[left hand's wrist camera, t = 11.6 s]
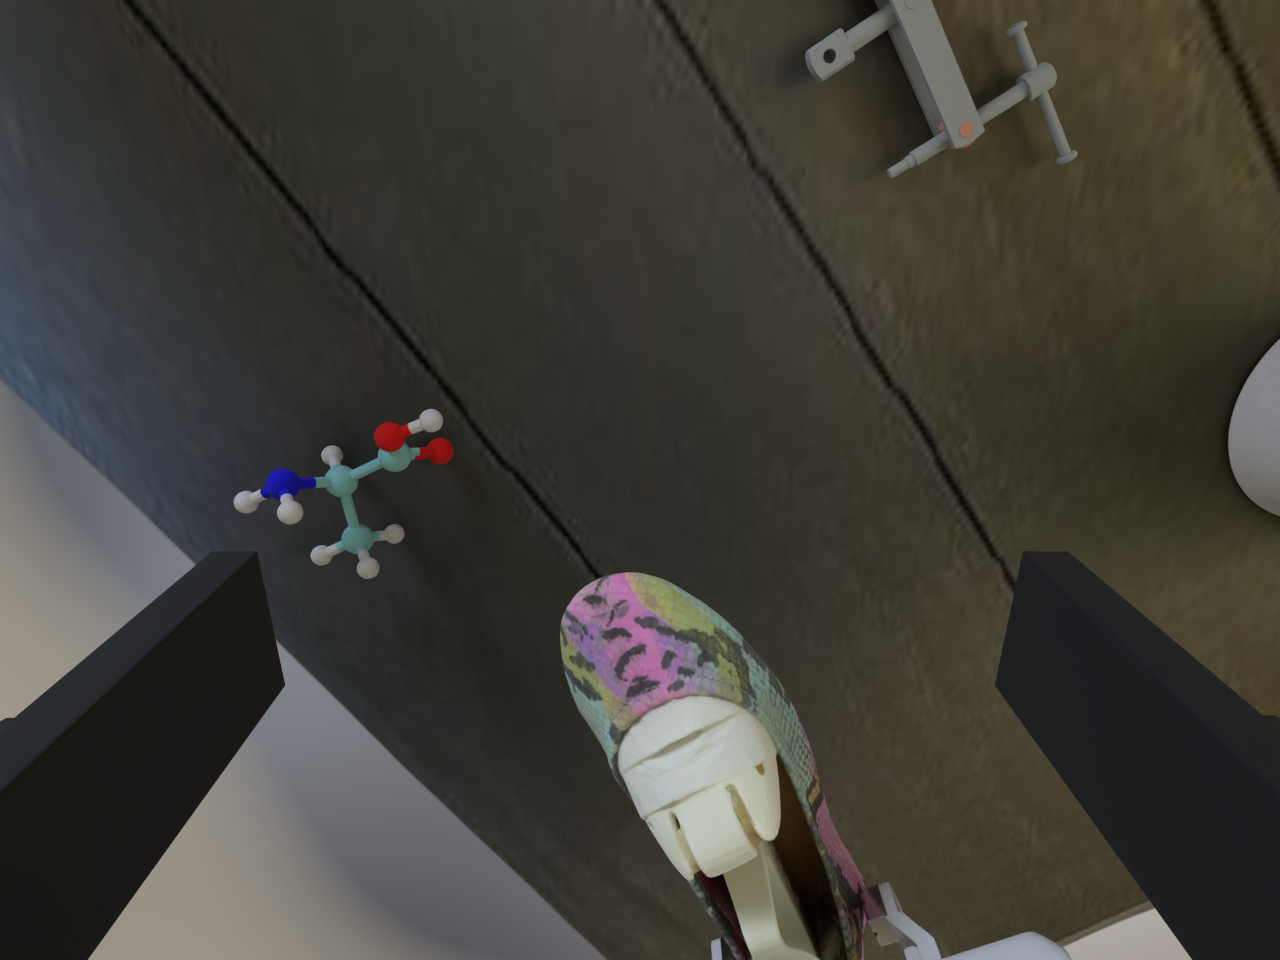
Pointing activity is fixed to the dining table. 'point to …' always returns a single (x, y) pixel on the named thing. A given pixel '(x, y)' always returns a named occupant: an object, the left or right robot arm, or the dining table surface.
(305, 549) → the dining table surface
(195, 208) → the dining table surface
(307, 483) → the molecular model
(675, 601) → the ballet flat
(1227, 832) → the left robot arm
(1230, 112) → the dining table surface
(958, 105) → the clamp
